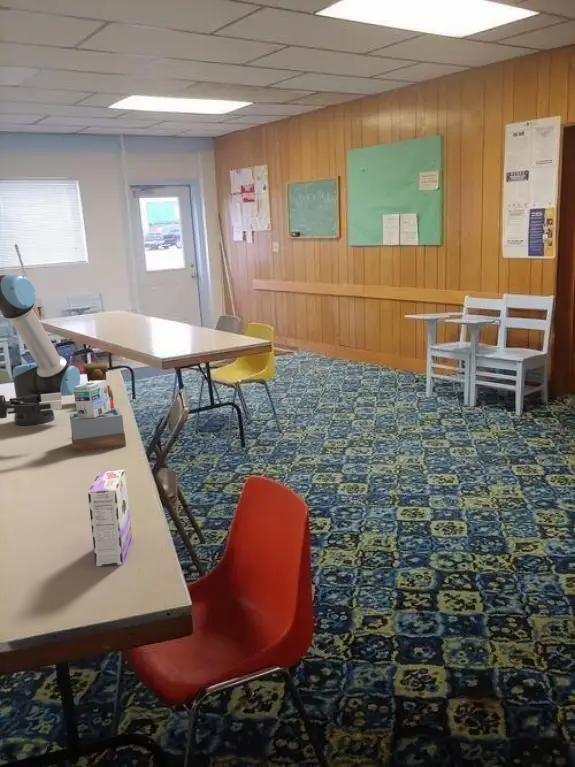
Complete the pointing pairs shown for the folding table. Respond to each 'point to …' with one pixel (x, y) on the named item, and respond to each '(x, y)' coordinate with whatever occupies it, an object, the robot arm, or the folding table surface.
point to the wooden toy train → (97, 374)
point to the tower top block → (97, 425)
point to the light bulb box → (92, 399)
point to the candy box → (110, 517)
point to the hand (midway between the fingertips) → (61, 400)
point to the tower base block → (98, 442)
